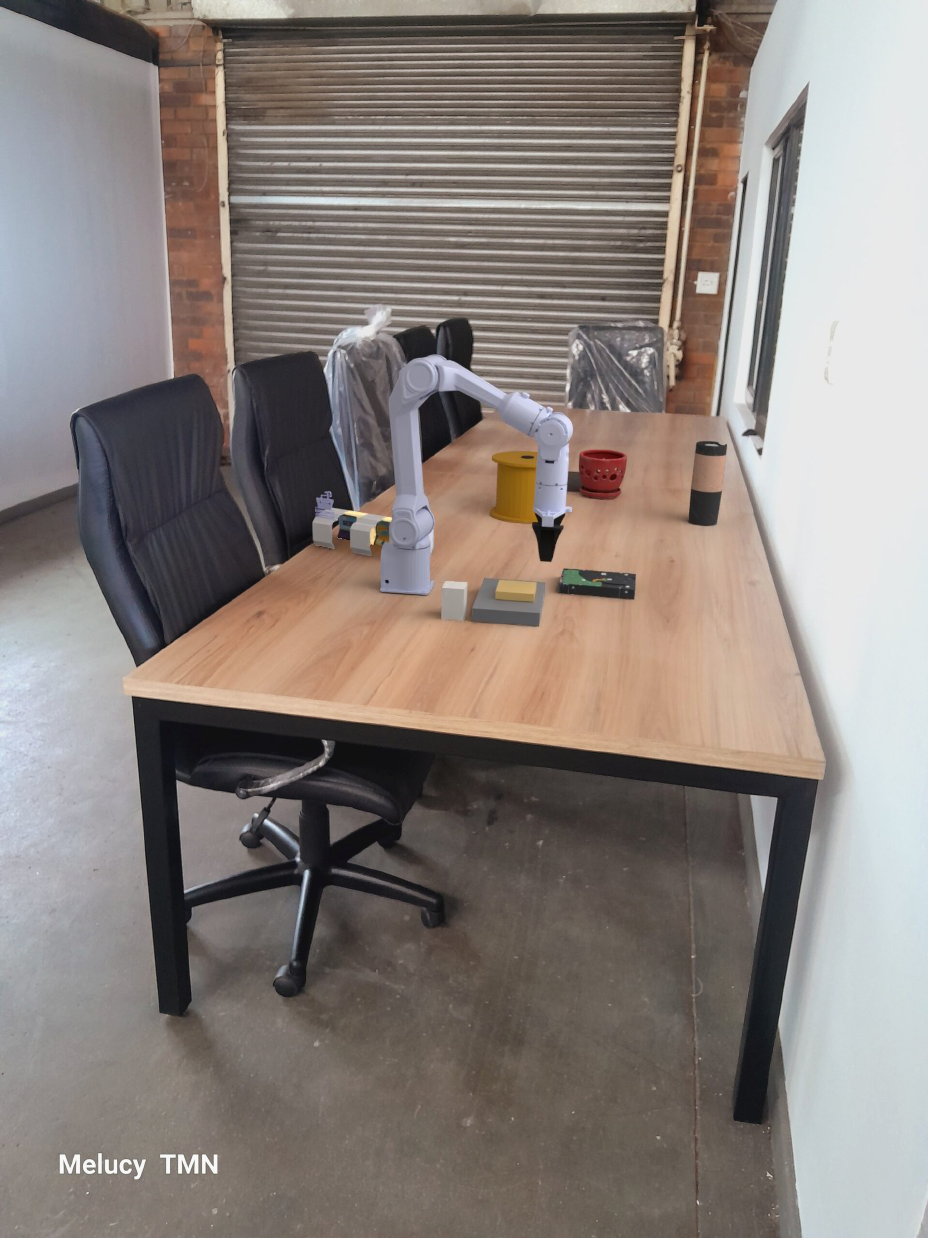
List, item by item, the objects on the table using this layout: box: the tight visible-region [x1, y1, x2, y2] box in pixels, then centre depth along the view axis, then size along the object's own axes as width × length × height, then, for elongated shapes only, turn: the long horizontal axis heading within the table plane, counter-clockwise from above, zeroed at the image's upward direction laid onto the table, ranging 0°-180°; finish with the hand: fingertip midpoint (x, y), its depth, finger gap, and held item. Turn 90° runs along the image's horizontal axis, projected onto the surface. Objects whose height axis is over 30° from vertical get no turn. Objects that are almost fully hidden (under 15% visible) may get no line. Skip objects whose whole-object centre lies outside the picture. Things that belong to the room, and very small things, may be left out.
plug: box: [440, 580, 468, 622], centre depth 171 cm, size 4×4×6 cm
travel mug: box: [688, 440, 728, 527], centre depth 239 cm, size 8×8×20 cm
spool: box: [489, 450, 538, 524], centre depth 242 cm, size 18×18×15 cm
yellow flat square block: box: [495, 579, 537, 602], centre depth 176 cm, size 7×7×2 cm
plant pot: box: [578, 448, 628, 500], centre depth 266 cm, size 13×13×12 cm
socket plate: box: [471, 577, 547, 627], centre depth 177 cm, size 12×18×2 cm, turn 172°
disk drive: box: [557, 567, 637, 601], centre depth 189 cm, size 10×3×15 cm
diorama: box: [312, 490, 435, 557], centre depth 208 cm, size 25×10×13 cm, turn 62°
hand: (546, 555), depth 176 cm, fingers open, 7 cm apart
